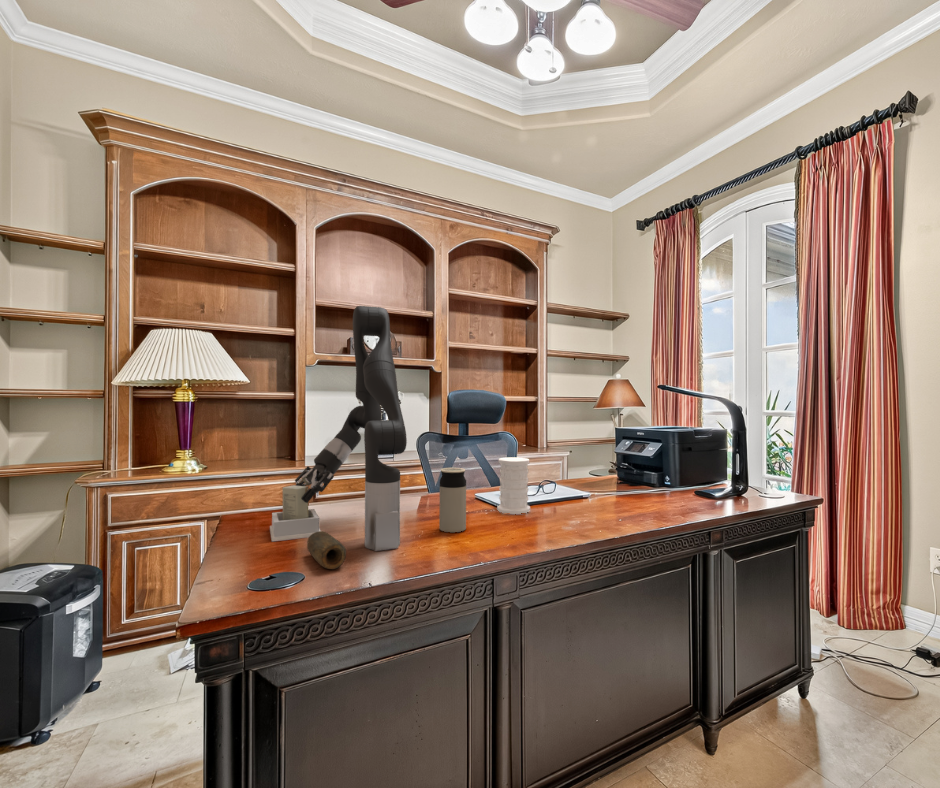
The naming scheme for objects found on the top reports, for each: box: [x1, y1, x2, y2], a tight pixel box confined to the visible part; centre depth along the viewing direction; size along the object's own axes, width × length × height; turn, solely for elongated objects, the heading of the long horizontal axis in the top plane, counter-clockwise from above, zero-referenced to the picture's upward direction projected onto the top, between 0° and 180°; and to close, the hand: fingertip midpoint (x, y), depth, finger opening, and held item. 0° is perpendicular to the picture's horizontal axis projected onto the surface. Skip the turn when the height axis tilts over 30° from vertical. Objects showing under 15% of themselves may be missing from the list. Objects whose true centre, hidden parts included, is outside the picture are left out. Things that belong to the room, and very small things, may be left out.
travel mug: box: [438, 467, 467, 534], centre depth 139 cm, size 8×8×18 cm
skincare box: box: [282, 484, 309, 520], centre depth 135 cm, size 6×4×12 cm
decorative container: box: [496, 456, 531, 515], centre depth 163 cm, size 12×12×18 cm
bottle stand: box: [269, 508, 322, 542], centre depth 135 cm, size 13×13×5 cm
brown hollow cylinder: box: [306, 530, 347, 570], centre depth 111 cm, size 15×7×7 cm, turn 36°
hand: (297, 498), depth 135 cm, fingers open, 8 cm apart
